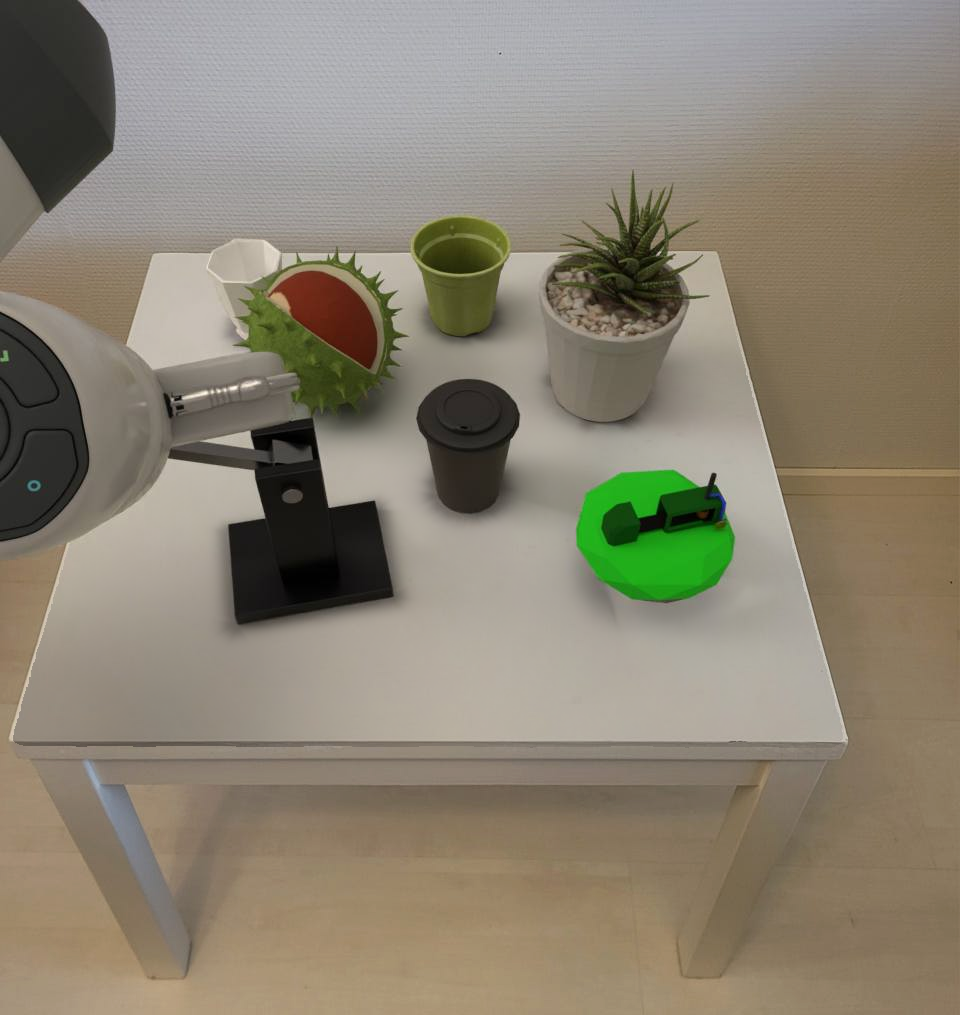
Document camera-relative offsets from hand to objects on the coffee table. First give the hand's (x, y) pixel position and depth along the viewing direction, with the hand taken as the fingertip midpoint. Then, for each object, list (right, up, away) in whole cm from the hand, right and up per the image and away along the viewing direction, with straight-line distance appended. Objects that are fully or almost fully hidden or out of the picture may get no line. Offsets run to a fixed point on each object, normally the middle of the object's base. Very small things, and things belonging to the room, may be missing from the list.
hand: (111, 426), depth 55 cm
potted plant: (+33, +6, +35) cm, 48 cm away
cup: (-1, +14, +41) cm, 43 cm away
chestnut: (+7, +6, +34) cm, 35 cm away
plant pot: (+19, +14, +41) cm, 48 cm away
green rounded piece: (+34, -10, +22) cm, 42 cm away
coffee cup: (+20, -3, +27) cm, 34 cm away
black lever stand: (+7, -9, +22) cm, 25 cm away
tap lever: (+2, -2, +11) cm, 11 cm away
